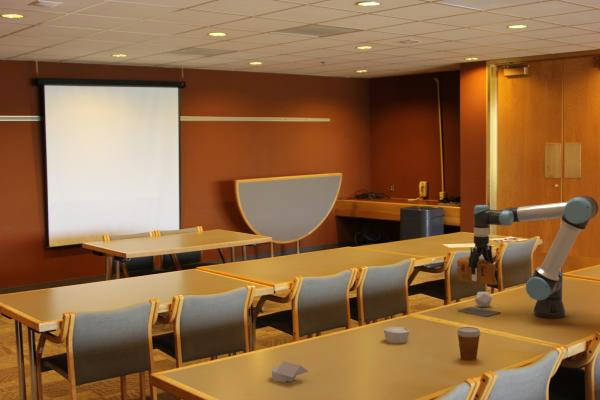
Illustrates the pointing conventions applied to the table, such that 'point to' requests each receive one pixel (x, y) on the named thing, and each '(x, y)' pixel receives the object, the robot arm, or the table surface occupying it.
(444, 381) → the table surface
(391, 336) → the ramekin
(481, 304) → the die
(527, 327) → the table surface
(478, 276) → the coffee package
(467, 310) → the mat
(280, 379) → the grey angular block
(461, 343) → the disposable coffee cup
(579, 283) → the table surface
